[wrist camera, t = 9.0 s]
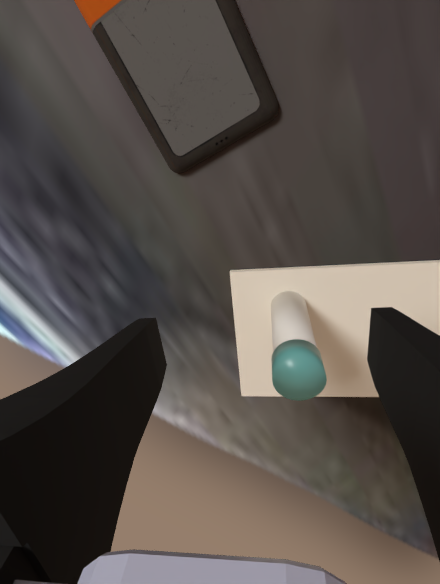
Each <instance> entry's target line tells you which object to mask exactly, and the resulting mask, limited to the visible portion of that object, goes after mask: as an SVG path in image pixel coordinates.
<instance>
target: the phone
mask: <svg viewBox="0 0 440 584" xmlns="http://www.w3.org/2000/svg"><path fill="white" fill-rule="evenodd" d="M74 1H75V3H76V5H77V6H78V8H79V10H80V12H81V13H82V15H83V17H84V19H85V20H86V22H87V24H88V26H89V27H90V29H91V31H92V33H93V34H94V36H95V38H96V40H97V41H98V43H99V45H100V47H101V48H102V50H103V52H104V54H105V55H106V57H107V59H108V61H109V62H110V64H111V66H112V68H113V69H114V71H115V73H116V75H117V76H118V78H119V80H120V82H121V83H122V85H123V87H124V89H125V90H126V92H127V94H128V96H129V98H130V99H131V101H132V103H133V105H134V106H135V108H136V110H137V112H138V113H139V115H140V117H141V119H142V120H143V122H144V124H145V126H146V127H147V129H148V131H149V133H150V134H151V136H152V138H153V140H154V141H155V143H156V145H157V147H158V148H159V150H160V152H161V154H162V155H163V157H164V159H165V161H166V162H167V164H168V166H169V168H170V169H171V170H172V171H174V172H176V173H183V172H185V171H187V170H188V169H190V168H192V167H194V166H195V165H197V164H199V163H200V162H202V161H204V160H205V159H207V158H209V157H211V156H212V155H214V154H216V153H217V152H219V151H221V150H222V149H224V148H226V147H228V146H229V145H231V144H233V143H234V142H236V141H238V140H239V139H241V138H243V137H244V136H246V135H248V134H250V133H251V132H253V131H255V130H256V129H258V128H260V127H261V126H263V125H265V124H267V123H268V122H270V121H272V120H273V119H274V118H275V117H276V115H277V113H278V108H279V106H278V102H277V99H276V97H275V95H274V92H273V90H272V88H271V85H270V83H269V81H268V78H267V76H266V74H265V71H264V69H263V66H262V64H261V62H260V59H259V57H258V55H257V52H256V50H255V48H254V45H253V43H252V41H251V38H250V36H249V33H248V31H247V29H246V26H245V24H244V22H243V19H242V17H241V15H240V12H239V10H238V8H237V5H236V3H235V1H234V0H74Z"/></svg>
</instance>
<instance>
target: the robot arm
mask: <svg viewBox="0 0 440 584" xmlns="http://www.w3.org/2000/svg"><path fill="white" fill-rule="evenodd" d="M367 362H368V365H369V369H370V372H371V376H372V379H373V382H374V386H375V388H376V391H377V393H378V395H379V397H380V400H381V402H382V404H383V406H384V409H385V411H386V413H387V415H388V417H389V419H390V422H391V424H392V426H393V428H394V430H395V433H396V435H397V437H398V439H399V441H400V444H401V446H402V448H403V450H404V453H405V455H406V458H407V460H408V463H409V465H410V468H411V471H412V474H413V477H414V480H415V483H416V486H417V489H418V492H419V495H420V498H421V502H422V505H423V508H424V511H425V514H426V518H427V521H428V524H429V527H430V530H431V534H432V537H433V540H434V544H435V547H436V551H437V554H438V557H439V561H440V336H439V335H438V334H436V333H434V332H433V331H431V330H429V329H428V328H426V327H424V326H423V325H421V324H419V323H418V322H416V321H415V320H413V319H411V318H410V317H408V316H406V315H405V314H403V313H402V312H400V311H398V310H396V309H394V308H392V307H382V308H371V316H370V329H369V341H368V354H367ZM166 366H167V364H166V359H165V355H164V351H163V346H162V342H161V338H160V333H159V329H158V325H157V321H156V318H144V319H138V320H136V321H135V322H133V323H131V324H130V325H128V326H127V327H126V328H124V329H123V330H121V331H120V332H118V333H117V334H116V335H114V336H113V337H111V338H110V339H109V340H107V341H106V342H104V343H103V344H101V345H100V346H99V347H97V348H96V349H94V350H93V351H91V352H89V353H88V354H86V355H85V356H83V357H82V358H80V359H79V360H77V361H76V362H74V363H73V364H71V365H69V366H68V367H66V368H64V369H63V370H61V371H59V372H57V373H55V374H53V375H52V376H50V377H48V378H46V379H44V380H42V381H40V382H38V383H36V384H34V385H32V386H30V387H27V388H25V389H23V390H21V391H19V392H17V393H14V394H12V395H10V396H8V397H6V398H3V399H1V400H0V584H346V583H345V582H344V581H343V580H341V579H339V578H337V577H336V576H334V575H333V574H331V573H329V572H328V571H326V570H324V569H323V568H321V567H319V566H315V565H310V564H305V563H300V562H295V561H291V560H286V559H271V558H256V557H239V556H225V555H209V554H195V553H178V552H164V551H148V550H125V551H115V552H110V551H111V546H112V541H113V537H114V533H115V529H116V524H117V520H118V516H119V512H120V508H121V504H122V501H123V496H124V492H125V489H126V485H127V481H128V478H129V474H130V471H131V468H132V464H133V460H134V457H135V454H136V451H137V449H138V446H139V443H140V441H141V438H142V436H143V433H144V431H145V428H146V426H147V423H148V421H149V418H150V416H151V413H152V411H153V409H154V406H155V403H156V401H157V398H158V396H159V393H160V390H161V387H162V383H163V379H164V375H165V370H166Z"/></svg>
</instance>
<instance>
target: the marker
mask: <svg viewBox="0 0 440 584" xmlns="http://www.w3.org/2000/svg"><path fill="white" fill-rule="evenodd" d="M271 322H272V341H273V354H272V358H271V362H272V382H273V386H274V388H275V390H276V391H277V392H278V393H279V394H280V395H282V396H283V397H285V398H288V399H291V400H307V399H311V398H313V397H315V396H317V395H318V394H319V393H321V392H322V390H323V389H324V387H325V385H326V381H327V378H326V373H325V369H324V365H323V361H322V357H321V354H320V351H319V350H318V348H317V346H316V342H315V338H314V334H313V330H312V326H311V322H310V318H309V314H308V310H307V306H306V302H305V299H304V298H303V297H302V296H301V295H300V294H299V293H297V292H294V291H284V292H281V293H279V294H277V295H276V296H275V297H274V298H273V300H272V302H271Z"/></svg>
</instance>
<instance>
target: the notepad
mask: <svg viewBox="0 0 440 584" xmlns="http://www.w3.org/2000/svg"><path fill="white" fill-rule="evenodd" d="M230 280H231V290H232V301H233V311H234V322H235V332H236V343H237V353H238V364H239V374H240V385H241V395H242V396H282V395H280V394H279V393H278V392H277V391H276V390H275V388H274V386H273V382H272V362H271V358H272V354H273V341H272V322H271V302H272V300H273V298H274V297H275V296H276V295H277V294H279V293H281V292H284V291H294V292H297V293H299V294H300V295H301V296H302V297H303V298H304V299H305V302H306V306H307V310H308V314H309V318H310V322H311V326H312V330H313V334H314V338H315V342H316V346H317V348H318V350H319V351H320V354H321V357H322V361H323V365H324V369H325V373H326V378H327V381H326V385H325V387H324V389H323V390H322V392H321V393H319V394H318V395H317V396H315V397H379V395H378V393H377V391H376V388H375V386H374V382H373V379H372V376H371V372H370V369H369V365H368V362H367V354H368V341H369V329H370V316H371V308H382V307H392V308H394V309H396V310H398V311H400V312H402V313H403V314H405V315H406V316H408V317H410V318H411V319H413V320H415V321H416V322H418V323H419V324H421V325H423V326H424V327H426V328H428V329H429V330H431V331H433V332H434V333H436V334H438V335H439V336H440V260H432V261H411V262H391V263H370V264H349V265H328V266H307V267H286V268H266V269H245V270H230Z"/></svg>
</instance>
